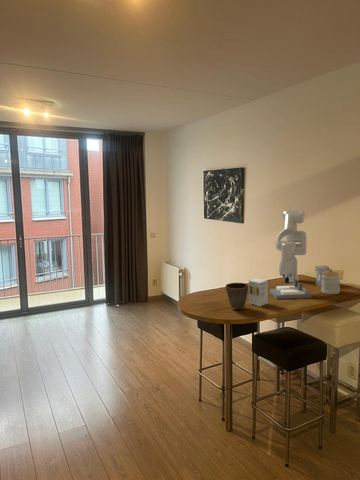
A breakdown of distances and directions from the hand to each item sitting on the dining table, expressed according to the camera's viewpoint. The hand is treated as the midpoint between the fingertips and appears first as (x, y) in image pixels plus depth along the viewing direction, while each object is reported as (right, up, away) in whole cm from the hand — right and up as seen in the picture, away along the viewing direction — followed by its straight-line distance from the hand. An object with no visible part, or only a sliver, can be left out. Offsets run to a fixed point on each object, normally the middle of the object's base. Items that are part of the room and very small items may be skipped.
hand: (286, 282), depth 271 cm
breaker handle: (+7, -4, -10) cm, 13 cm away
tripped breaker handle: (+6, -2, 0) cm, 7 cm away
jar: (+32, -7, -2) cm, 33 cm away
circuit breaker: (+37, -4, +17) cm, 41 cm away
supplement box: (-27, -12, -23) cm, 37 cm away
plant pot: (-42, -14, -31) cm, 54 cm away
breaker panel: (+1, -8, -5) cm, 9 cm away
